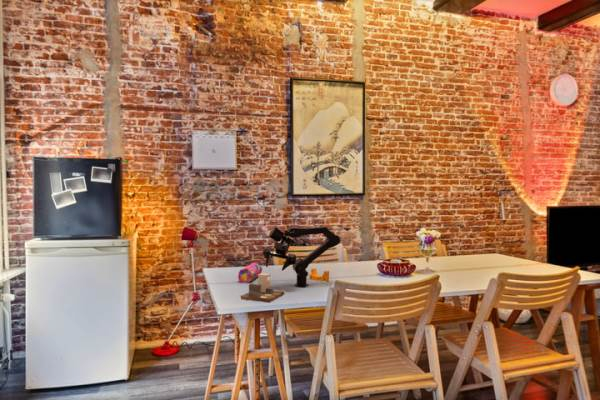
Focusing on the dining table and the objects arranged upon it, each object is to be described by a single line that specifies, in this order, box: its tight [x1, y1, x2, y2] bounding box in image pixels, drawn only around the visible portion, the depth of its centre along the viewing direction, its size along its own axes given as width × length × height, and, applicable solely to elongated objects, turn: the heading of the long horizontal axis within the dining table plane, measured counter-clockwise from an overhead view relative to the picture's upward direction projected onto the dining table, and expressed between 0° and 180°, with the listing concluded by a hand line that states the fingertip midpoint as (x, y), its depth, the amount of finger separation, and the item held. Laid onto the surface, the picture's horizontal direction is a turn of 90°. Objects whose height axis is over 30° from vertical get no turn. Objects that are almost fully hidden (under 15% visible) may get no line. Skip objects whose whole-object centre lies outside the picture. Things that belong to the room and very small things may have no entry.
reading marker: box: [266, 284, 273, 294], centre depth 221 cm, size 2×3×4 cm, turn 68°
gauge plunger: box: [257, 272, 274, 293], centre depth 225 cm, size 4×8×9 cm, turn 68°
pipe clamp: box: [308, 268, 330, 283], centre depth 264 cm, size 12×4×6 cm, turn 49°
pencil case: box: [237, 262, 263, 284], centre depth 262 cm, size 22×9×9 cm, turn 169°
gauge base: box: [240, 283, 285, 303], centre depth 223 cm, size 18×16×8 cm
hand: (274, 268), depth 233 cm, fingers open, 9 cm apart
